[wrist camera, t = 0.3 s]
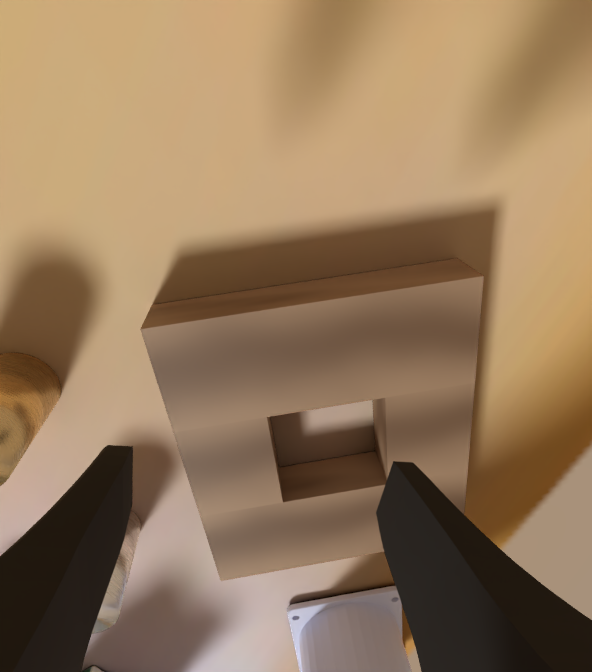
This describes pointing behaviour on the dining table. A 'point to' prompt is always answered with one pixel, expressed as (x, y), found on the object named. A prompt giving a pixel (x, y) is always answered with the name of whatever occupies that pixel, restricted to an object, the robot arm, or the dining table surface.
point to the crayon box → (92, 669)
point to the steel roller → (119, 578)
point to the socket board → (317, 403)
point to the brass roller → (23, 405)
